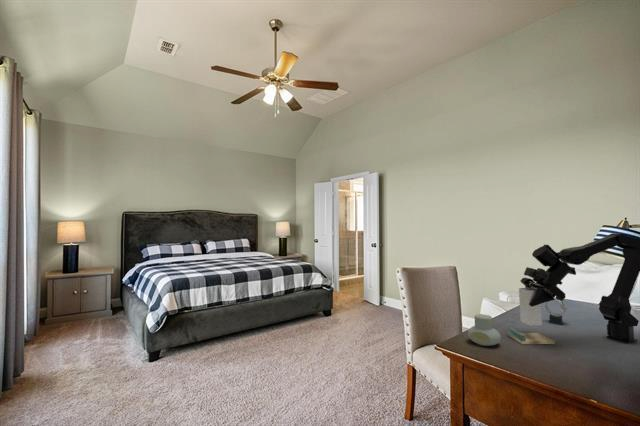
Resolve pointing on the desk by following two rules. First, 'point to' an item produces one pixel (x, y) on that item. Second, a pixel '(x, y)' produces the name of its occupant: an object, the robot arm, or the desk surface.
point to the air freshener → (484, 331)
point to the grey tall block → (529, 307)
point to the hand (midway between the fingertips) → (526, 303)
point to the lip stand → (529, 337)
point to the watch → (556, 317)
